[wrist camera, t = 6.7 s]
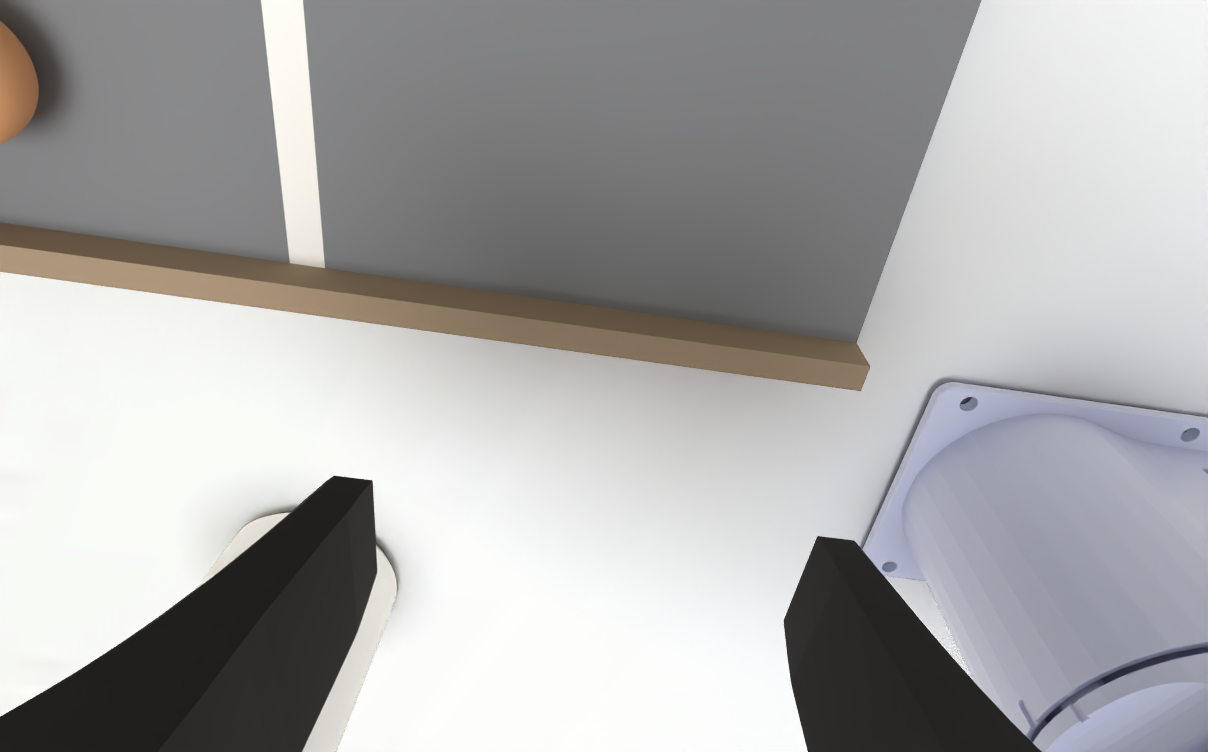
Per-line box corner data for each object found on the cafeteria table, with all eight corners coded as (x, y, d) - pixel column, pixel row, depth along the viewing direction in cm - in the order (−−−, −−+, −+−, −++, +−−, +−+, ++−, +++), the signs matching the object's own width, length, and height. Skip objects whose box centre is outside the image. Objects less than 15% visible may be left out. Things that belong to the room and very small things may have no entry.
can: (378, 501, 25) (187, 881, 14) (417, 622, 28) (285, 1004, 17) (208, 506, 25) (-94, 877, 15) (266, 624, 28) (50, 997, 18)
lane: (1006, -102, 15) (1068, -117, 13) (842, 356, 21) (866, 400, 19) (-257, -305, 14) (-420, -358, 12) (-57, 231, 20) (-140, 261, 18)
